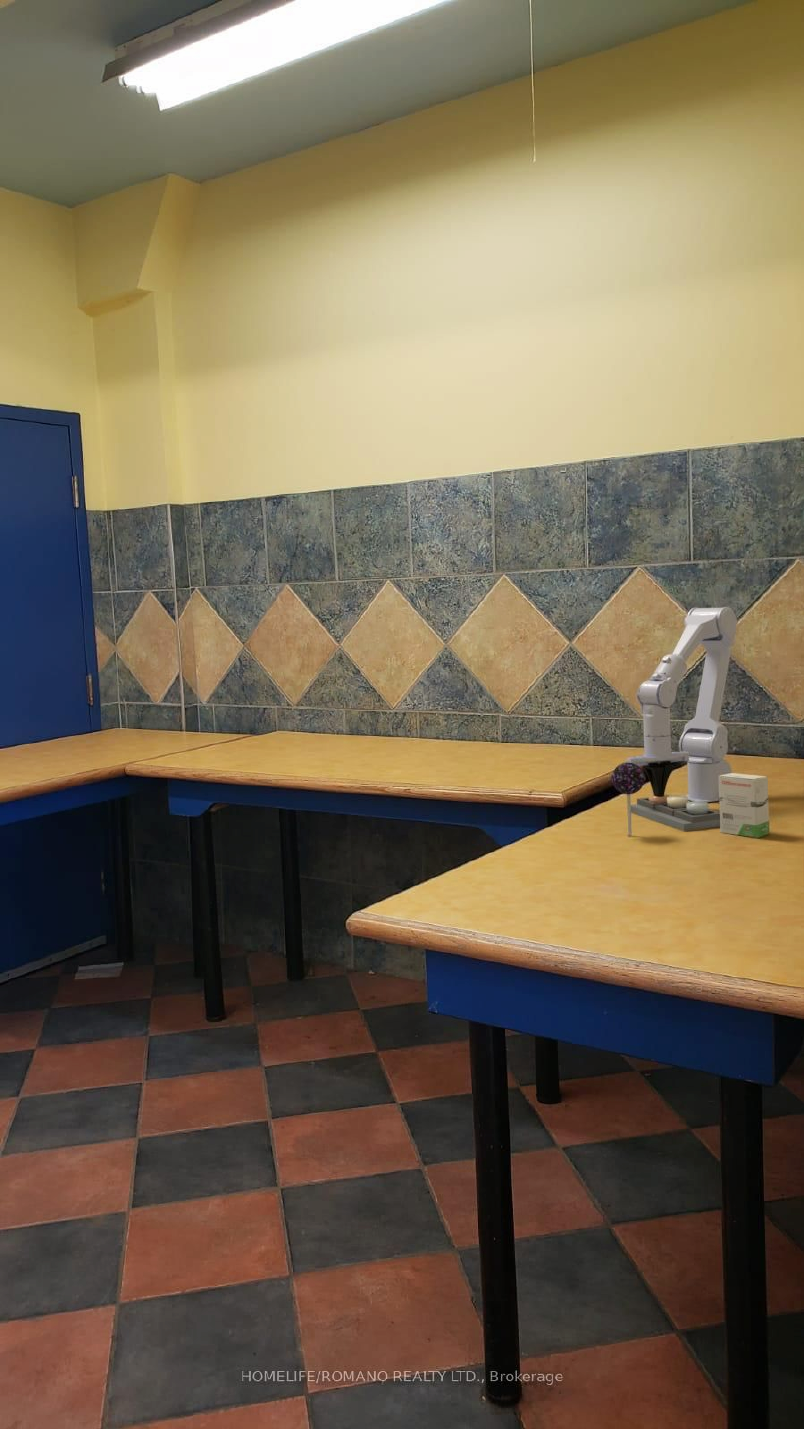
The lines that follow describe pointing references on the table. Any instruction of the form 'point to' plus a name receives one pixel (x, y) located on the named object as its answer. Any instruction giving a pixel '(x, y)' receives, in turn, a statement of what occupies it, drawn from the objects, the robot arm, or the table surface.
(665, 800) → the terracotta button
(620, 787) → the lollipop
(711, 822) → the panel
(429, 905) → the table surface
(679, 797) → the cream button
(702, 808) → the blue-grey button
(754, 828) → the ink box
